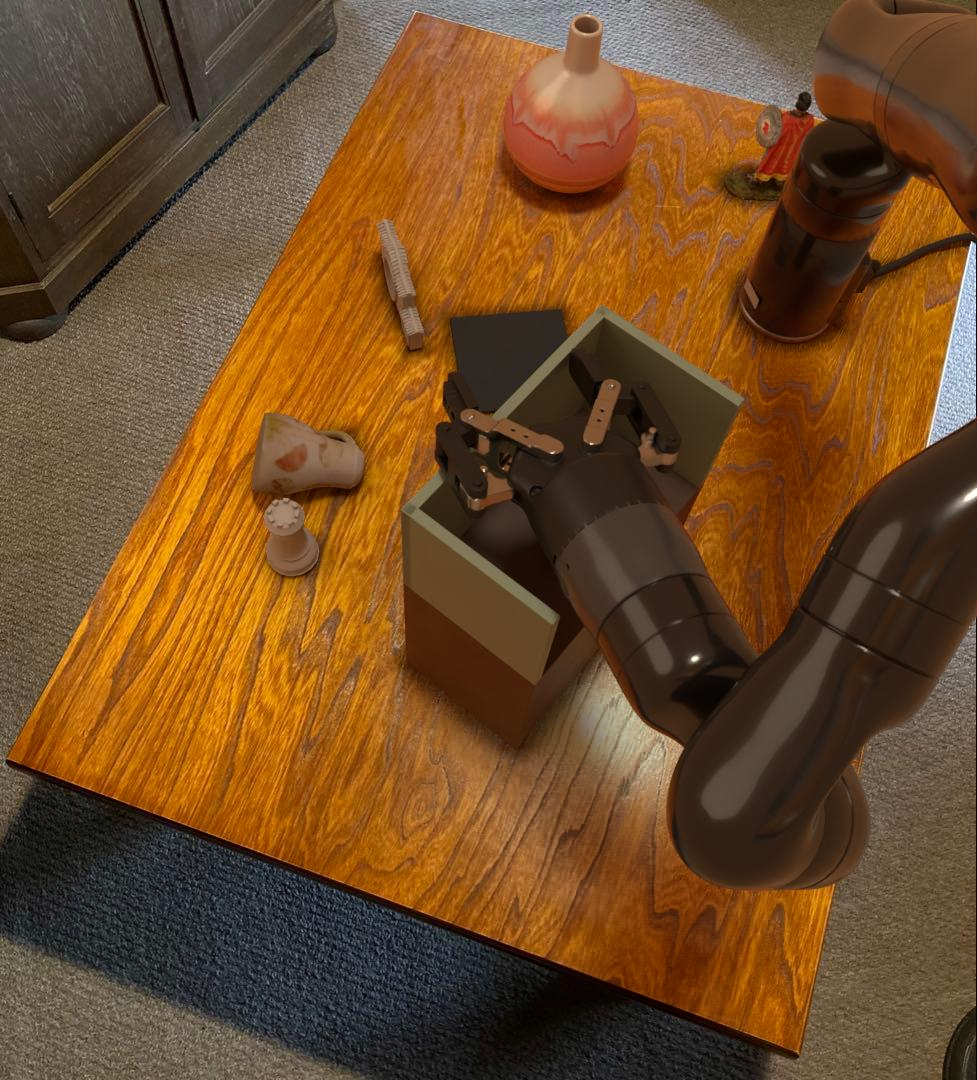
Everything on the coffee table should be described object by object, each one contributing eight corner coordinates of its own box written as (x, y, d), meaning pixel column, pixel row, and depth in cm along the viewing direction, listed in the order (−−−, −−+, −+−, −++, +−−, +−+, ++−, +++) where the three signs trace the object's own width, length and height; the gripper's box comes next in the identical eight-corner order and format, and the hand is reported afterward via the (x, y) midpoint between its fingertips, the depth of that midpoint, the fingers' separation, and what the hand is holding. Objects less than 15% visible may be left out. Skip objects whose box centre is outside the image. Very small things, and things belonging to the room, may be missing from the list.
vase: (492, 124, 116) (504, -25, 101) (616, 119, 118) (647, -28, 102) (507, 221, 110) (522, 79, 95) (638, 215, 112) (673, 74, 96)
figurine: (803, 172, 116) (843, 80, 105) (802, 209, 113) (842, 119, 103) (725, 160, 116) (756, 67, 105) (722, 196, 114) (754, 105, 103)
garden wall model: (425, 350, 103) (425, 311, 97) (407, 353, 102) (406, 314, 97) (395, 254, 108) (393, 212, 102) (377, 257, 107) (375, 215, 102)
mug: (373, 511, 95) (309, 480, 86) (283, 513, 99) (213, 484, 90) (383, 430, 97) (320, 392, 88) (293, 436, 101) (225, 400, 92)
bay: (661, 571, 94) (745, 398, 70) (515, 749, 86) (552, 625, 62) (556, 495, 97) (601, 303, 72) (405, 661, 89) (400, 509, 65)
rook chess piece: (327, 541, 93) (320, 497, 86) (307, 585, 91) (297, 544, 84) (280, 525, 94) (268, 479, 87) (258, 568, 92) (244, 526, 85)
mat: (561, 311, 106) (561, 308, 105) (580, 405, 101) (581, 402, 101) (449, 319, 104) (450, 317, 104) (464, 415, 100) (464, 413, 99)
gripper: (747, 480, 59) (622, 303, 69) (507, 540, 55) (409, 343, 65) (716, 565, 65) (604, 391, 75) (497, 625, 61) (408, 433, 71)
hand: (514, 369), depth 70 cm, fingers open, 8 cm apart
